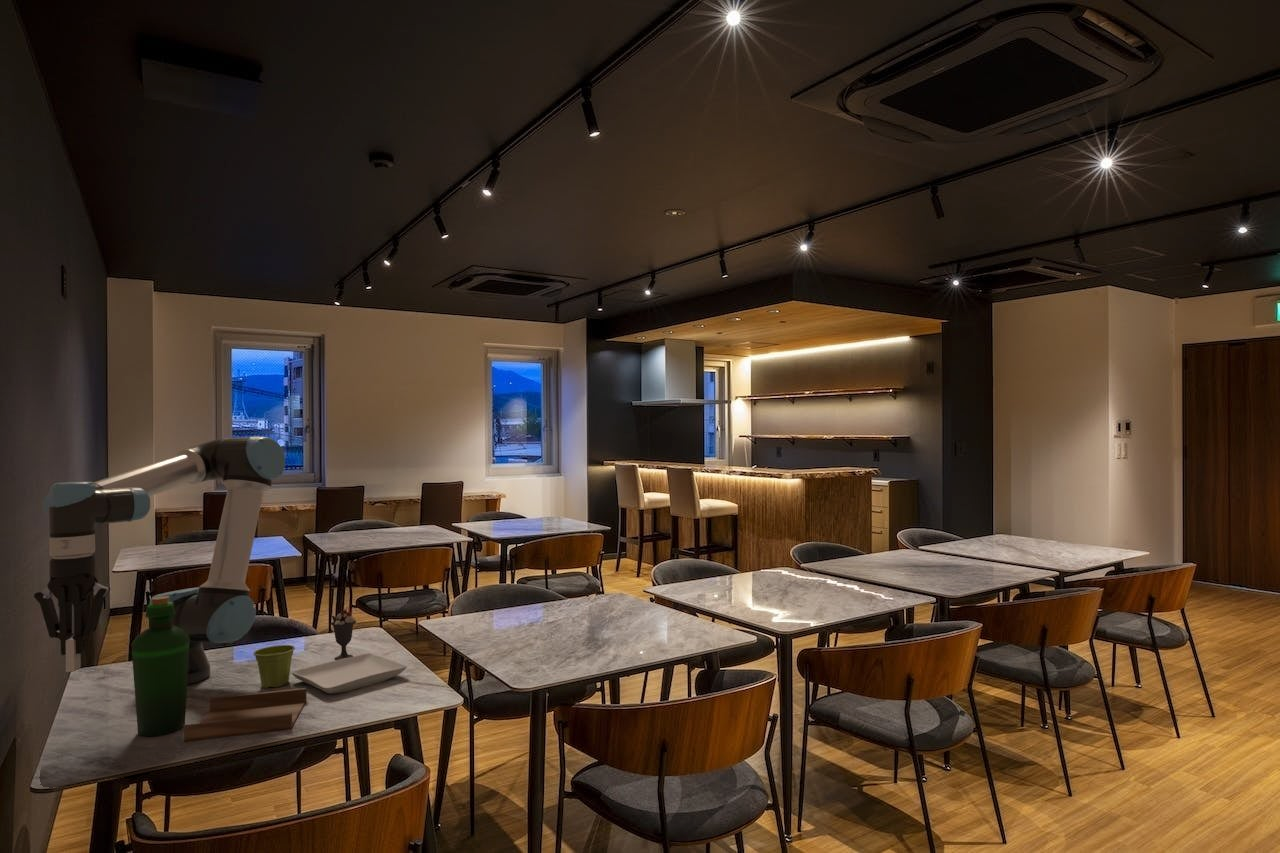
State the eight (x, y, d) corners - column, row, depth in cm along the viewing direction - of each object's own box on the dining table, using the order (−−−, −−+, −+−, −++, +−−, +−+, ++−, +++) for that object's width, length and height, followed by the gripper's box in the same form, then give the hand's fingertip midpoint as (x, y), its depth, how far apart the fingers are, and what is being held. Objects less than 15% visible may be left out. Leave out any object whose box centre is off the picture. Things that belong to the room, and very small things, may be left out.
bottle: (180, 716, 162) (179, 590, 163) (198, 727, 155) (197, 596, 156) (123, 732, 154) (123, 599, 154) (140, 744, 147) (139, 605, 148)
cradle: (211, 711, 165) (211, 697, 165) (306, 700, 170) (306, 687, 170) (184, 741, 148) (184, 726, 148) (291, 729, 153) (291, 714, 153)
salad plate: (290, 683, 184) (289, 670, 184) (369, 663, 200) (369, 651, 200) (326, 702, 170) (326, 687, 170) (409, 679, 185) (408, 665, 186)
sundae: (361, 656, 206) (360, 603, 207) (340, 662, 200) (340, 608, 201) (347, 653, 210) (346, 601, 210) (326, 659, 204) (325, 605, 204)
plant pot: (247, 686, 182) (246, 651, 182) (284, 676, 190) (283, 642, 190) (265, 693, 176) (264, 657, 177) (302, 682, 184) (302, 648, 184)
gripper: (25, 560, 146) (26, 678, 145) (100, 556, 149) (101, 671, 149) (45, 555, 153) (46, 667, 153) (116, 551, 156) (117, 661, 156)
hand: (73, 669), depth 151 cm, fingers closed
